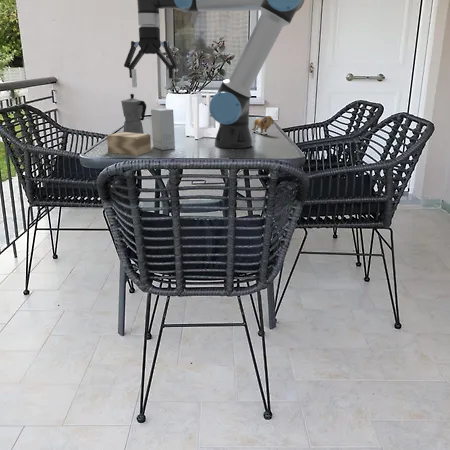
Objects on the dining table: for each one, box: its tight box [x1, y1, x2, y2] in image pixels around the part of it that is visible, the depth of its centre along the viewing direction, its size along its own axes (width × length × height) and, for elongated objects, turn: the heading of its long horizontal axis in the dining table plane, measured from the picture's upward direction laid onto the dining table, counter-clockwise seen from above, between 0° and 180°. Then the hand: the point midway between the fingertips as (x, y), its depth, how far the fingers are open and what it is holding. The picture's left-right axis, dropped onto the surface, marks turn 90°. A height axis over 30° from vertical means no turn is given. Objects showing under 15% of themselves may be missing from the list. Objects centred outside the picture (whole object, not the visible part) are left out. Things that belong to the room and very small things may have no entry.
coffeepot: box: [120, 93, 147, 134], centre depth 206 cm, size 15×9×18 cm, turn 49°
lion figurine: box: [251, 115, 275, 134], centre depth 225 cm, size 15×5×9 cm, turn 36°
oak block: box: [106, 131, 152, 157], centre depth 174 cm, size 12×10×6 cm
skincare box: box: [150, 107, 176, 151], centre depth 182 cm, size 8×6×15 cm
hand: (151, 87), depth 180 cm, fingers open, 13 cm apart
